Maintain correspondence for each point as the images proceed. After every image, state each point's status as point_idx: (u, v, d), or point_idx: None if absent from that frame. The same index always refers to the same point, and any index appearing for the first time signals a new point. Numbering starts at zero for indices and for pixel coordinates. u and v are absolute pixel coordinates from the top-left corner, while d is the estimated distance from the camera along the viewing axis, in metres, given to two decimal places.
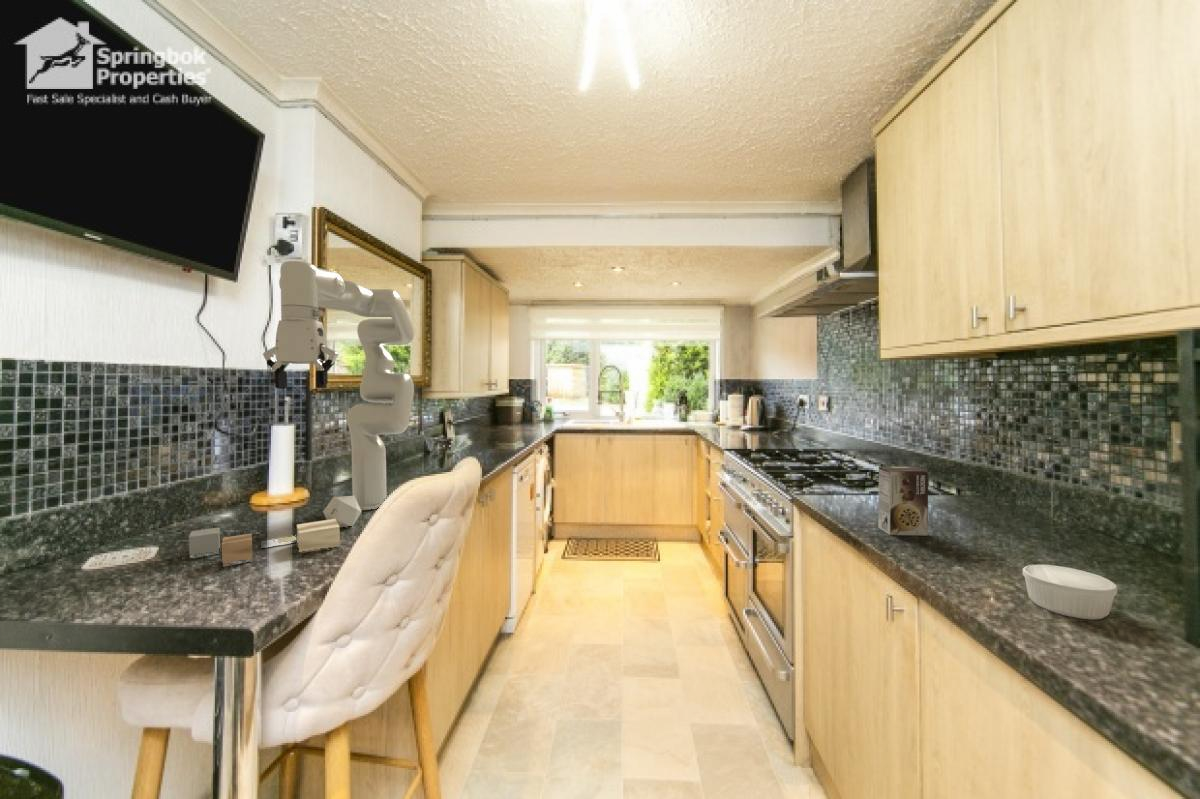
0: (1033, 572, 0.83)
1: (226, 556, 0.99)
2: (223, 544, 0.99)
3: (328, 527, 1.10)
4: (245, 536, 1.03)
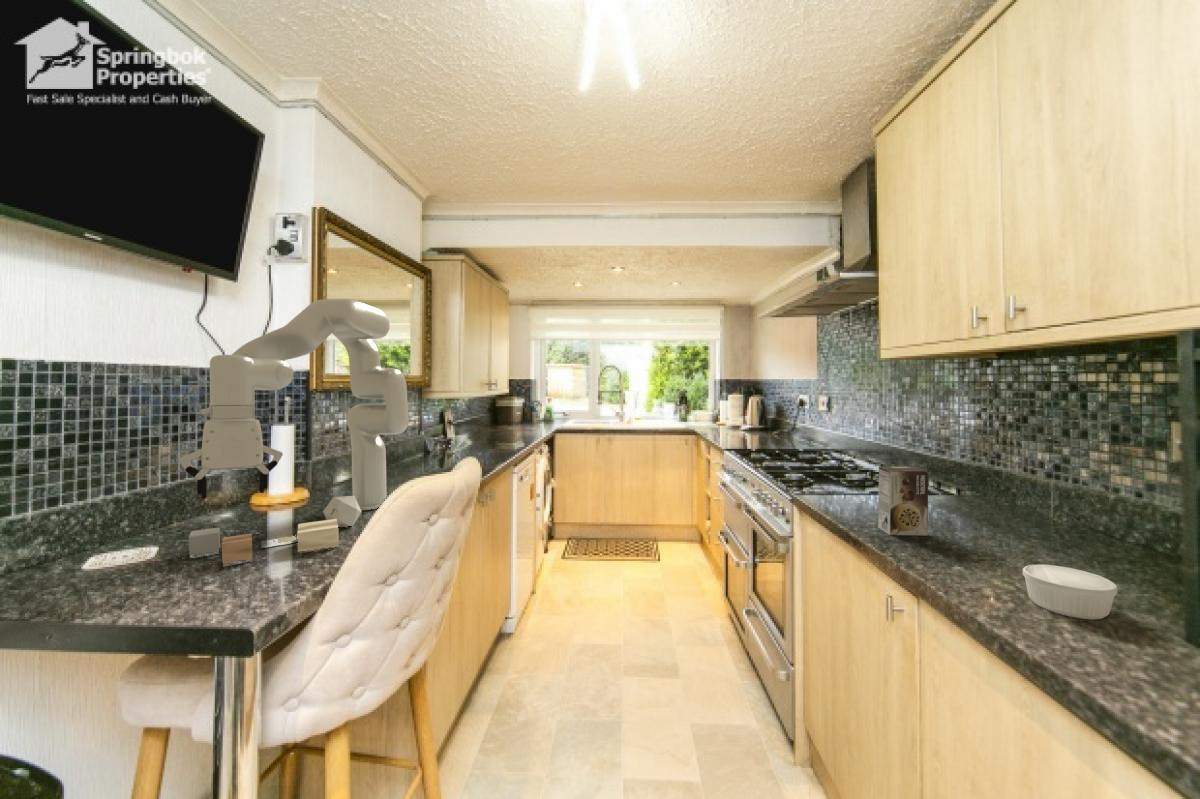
0: (1033, 572, 0.83)
1: (226, 556, 0.99)
2: (223, 544, 0.99)
3: (327, 527, 1.10)
4: (245, 536, 1.03)
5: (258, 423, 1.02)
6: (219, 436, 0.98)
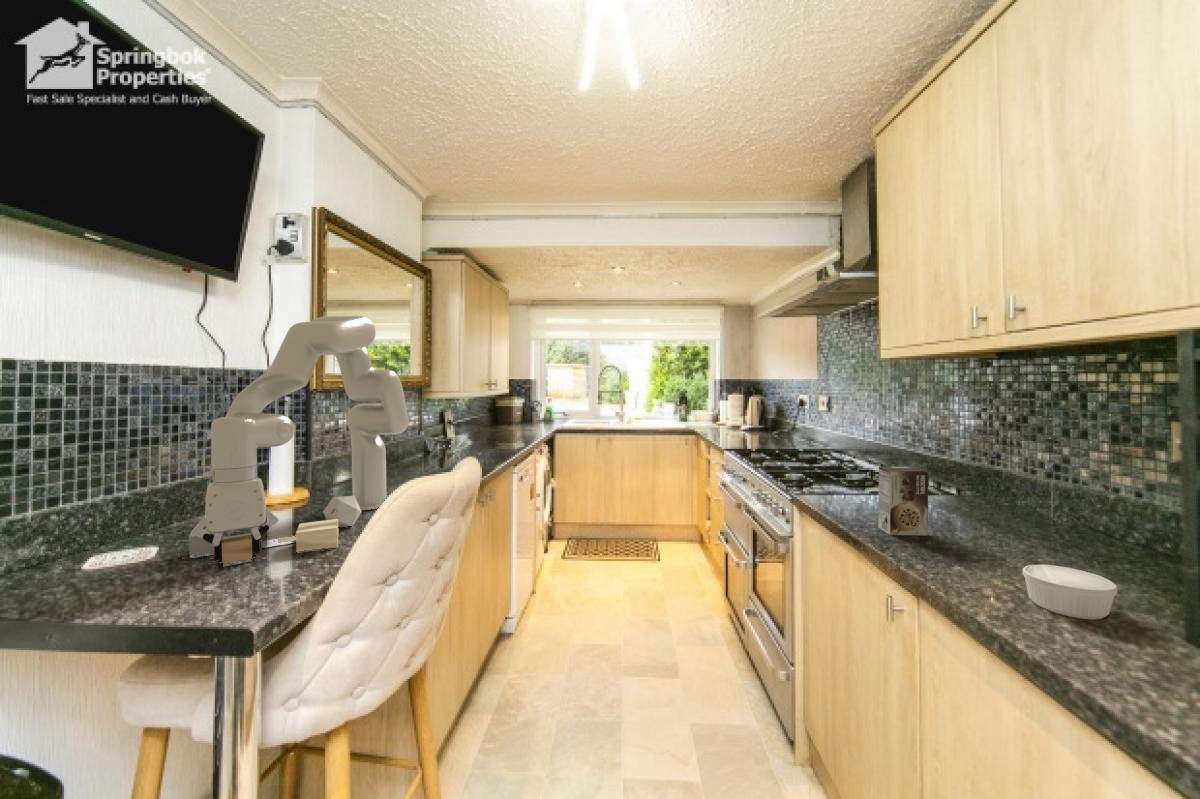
0: (1033, 572, 0.83)
1: (225, 556, 0.99)
2: (223, 544, 0.99)
3: (326, 528, 1.10)
4: (245, 536, 1.03)
5: (260, 483, 1.03)
6: (222, 500, 0.98)
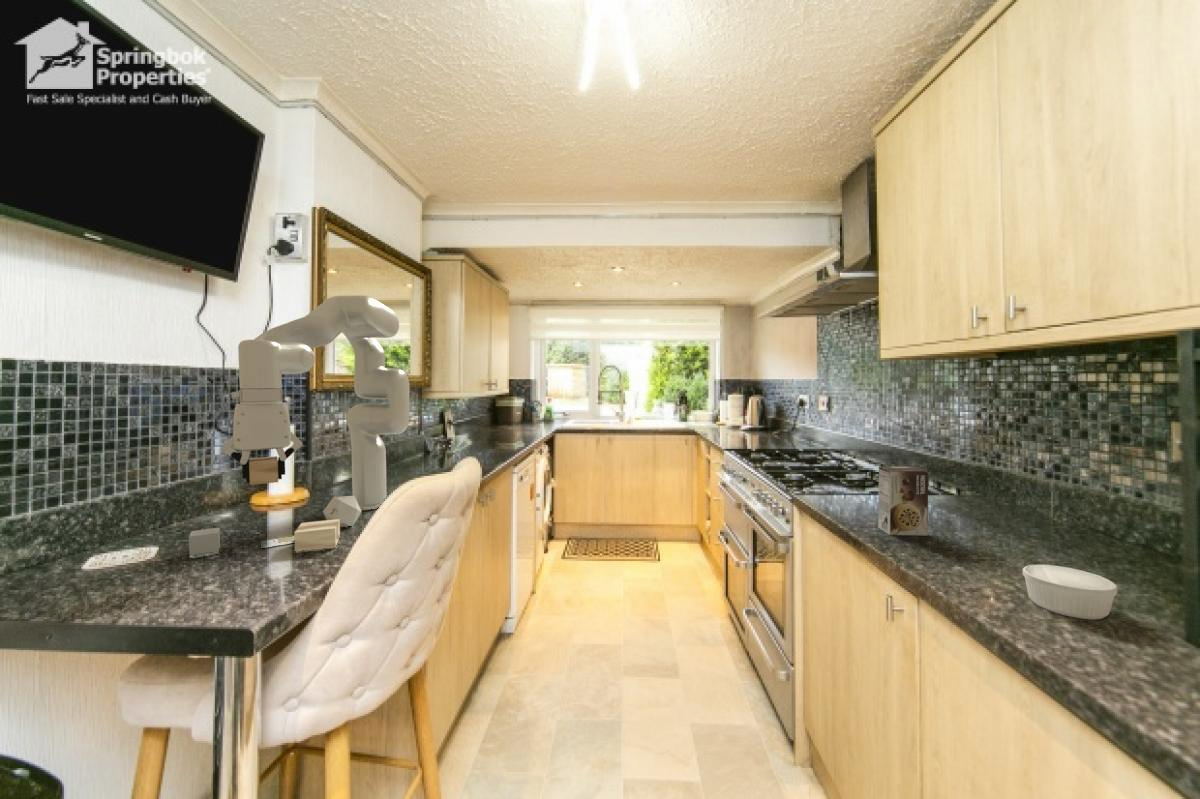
0: (1033, 572, 0.83)
1: (253, 474, 1.02)
2: (250, 462, 1.02)
3: (324, 528, 1.10)
4: (271, 458, 1.06)
5: (286, 406, 1.05)
6: (249, 419, 1.01)
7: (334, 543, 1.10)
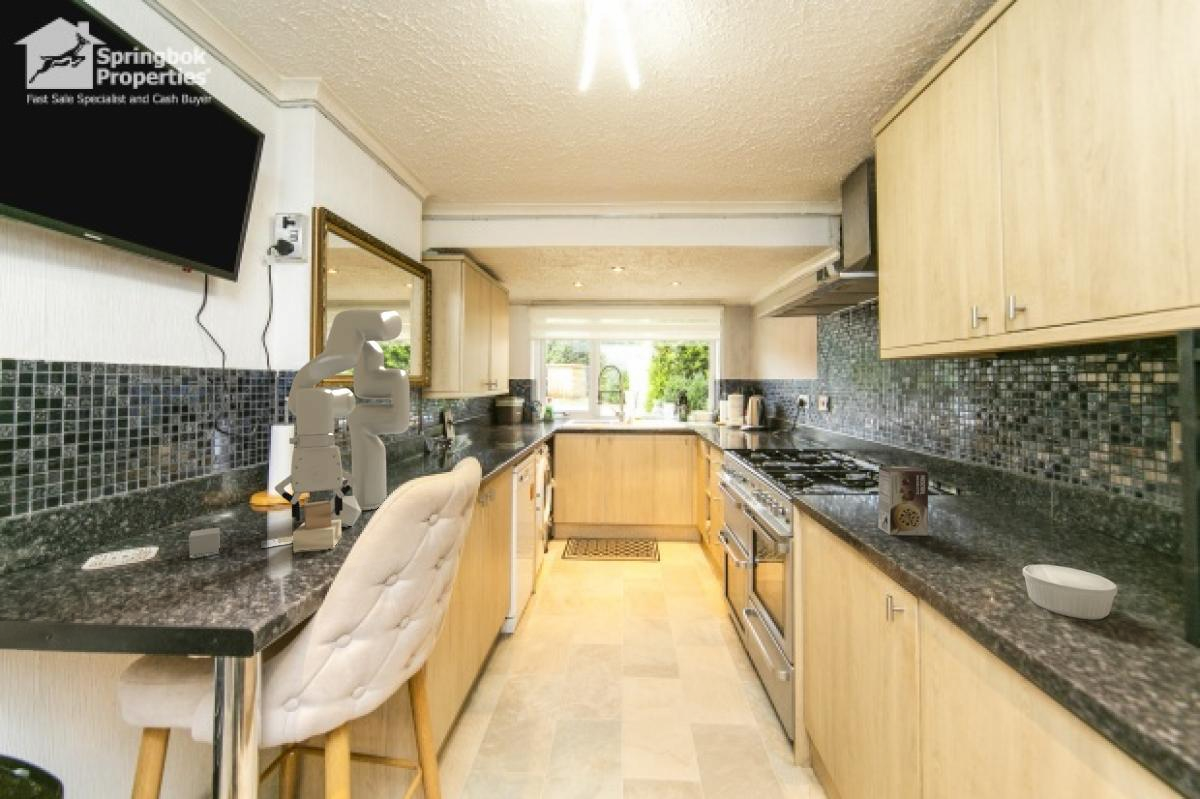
0: (1033, 572, 0.83)
1: (309, 519, 1.09)
2: (307, 508, 1.08)
3: (323, 528, 1.09)
4: (324, 503, 1.13)
5: (338, 449, 1.12)
6: (306, 463, 1.08)
7: (332, 544, 1.09)
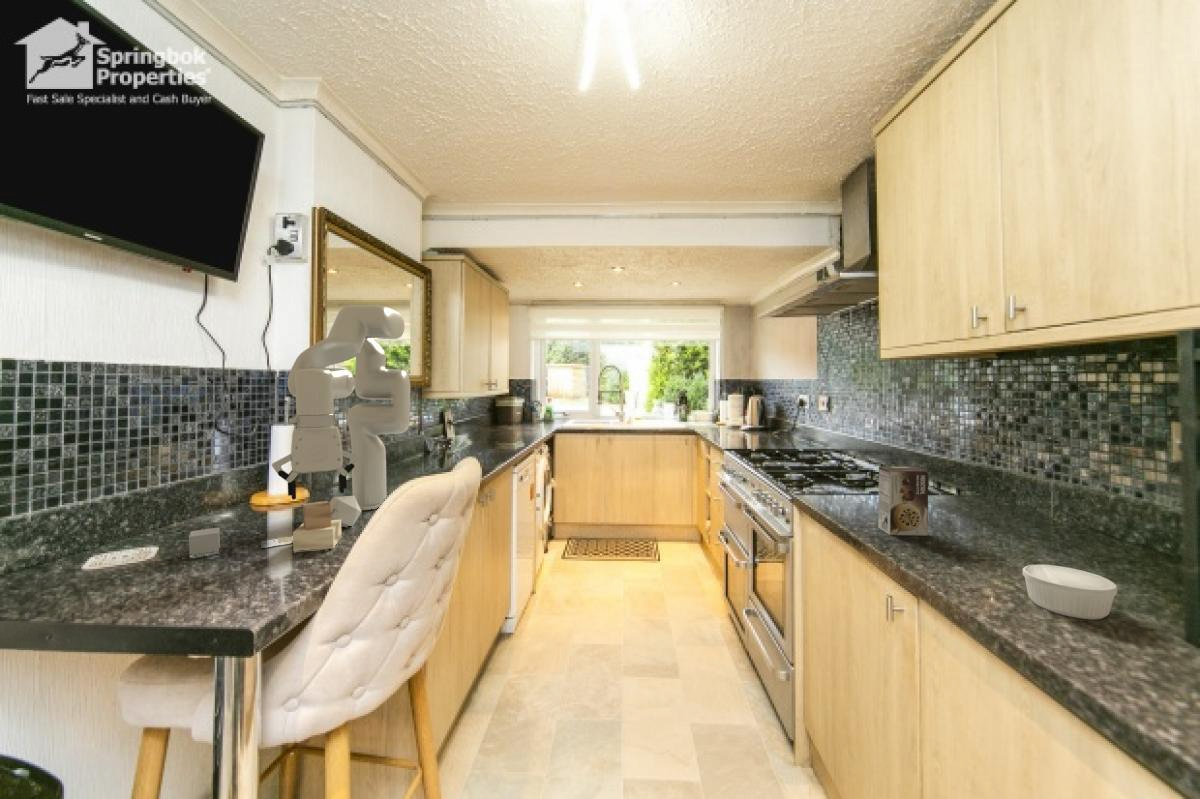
0: (1033, 572, 0.83)
1: (308, 520, 1.08)
2: (306, 508, 1.08)
3: (323, 528, 1.09)
4: (323, 503, 1.13)
5: (338, 430, 1.12)
6: (306, 443, 1.08)
7: (332, 544, 1.09)
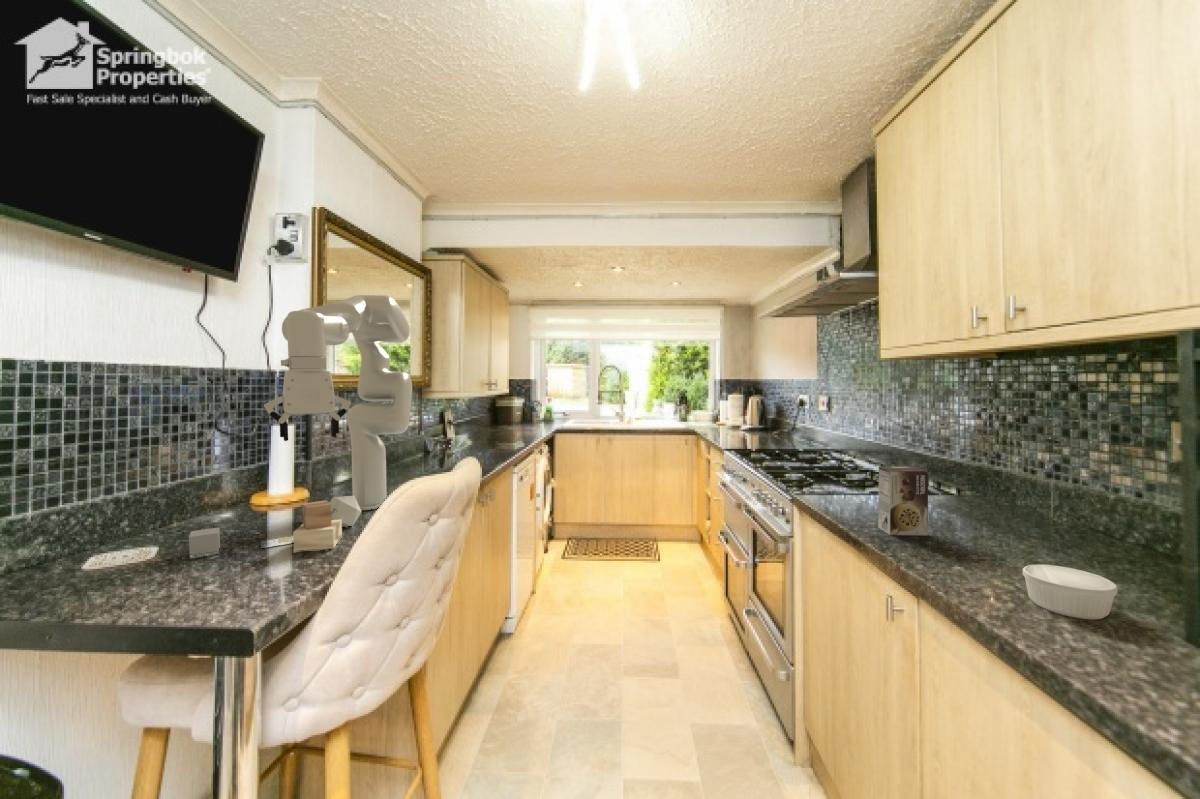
0: (1033, 572, 0.83)
1: (309, 519, 1.09)
2: (307, 508, 1.09)
3: (323, 528, 1.09)
4: (323, 502, 1.13)
5: (330, 374, 1.13)
6: (298, 385, 1.08)
7: (332, 544, 1.09)
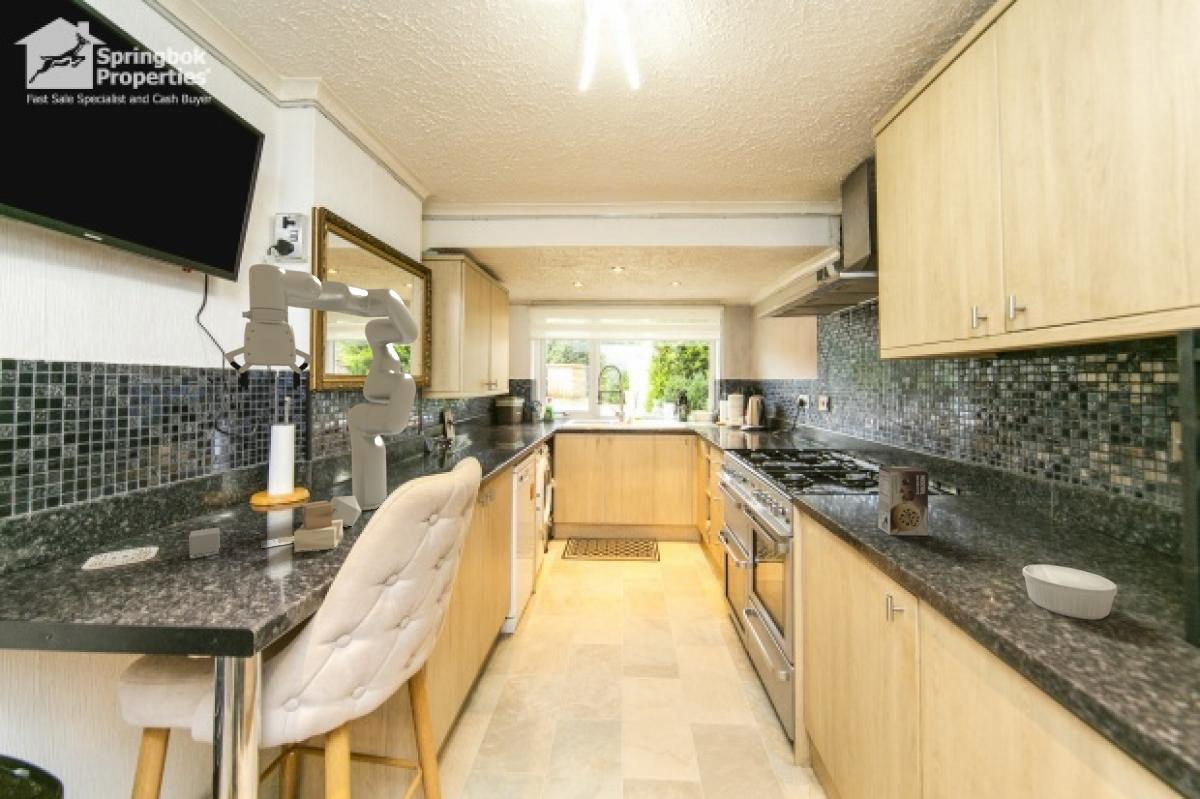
0: (1033, 572, 0.83)
1: (310, 520, 1.09)
2: (307, 508, 1.08)
3: (324, 529, 1.09)
4: (323, 502, 1.13)
5: (291, 327, 1.16)
6: (258, 335, 1.11)
7: (333, 544, 1.09)
